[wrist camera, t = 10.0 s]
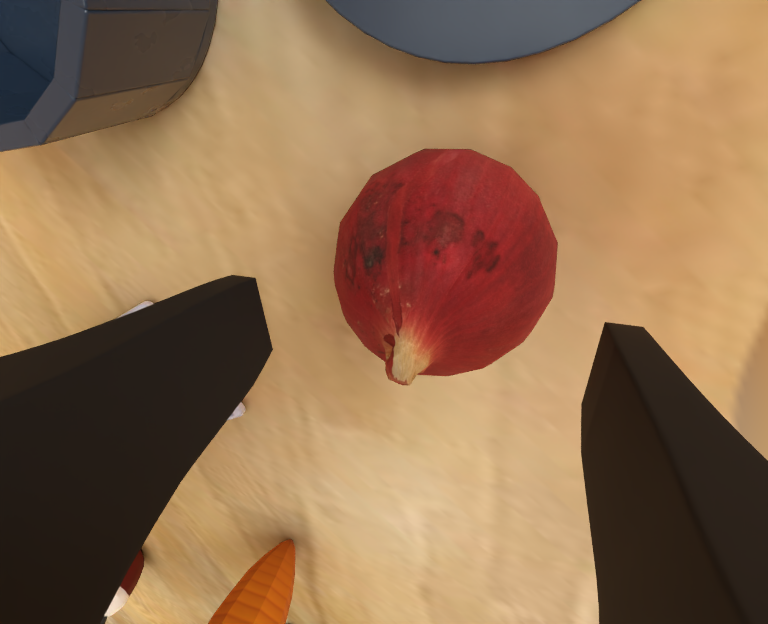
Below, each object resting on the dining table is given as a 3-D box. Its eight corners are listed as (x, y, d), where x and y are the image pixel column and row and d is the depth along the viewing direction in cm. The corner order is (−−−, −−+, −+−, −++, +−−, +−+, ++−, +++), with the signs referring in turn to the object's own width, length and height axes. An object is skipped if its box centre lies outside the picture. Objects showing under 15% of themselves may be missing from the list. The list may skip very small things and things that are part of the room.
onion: (352, 173, 15) (211, 288, 9) (512, 83, 12) (470, 159, 6) (429, 306, 17) (358, 475, 11) (581, 256, 14) (603, 448, 8)
